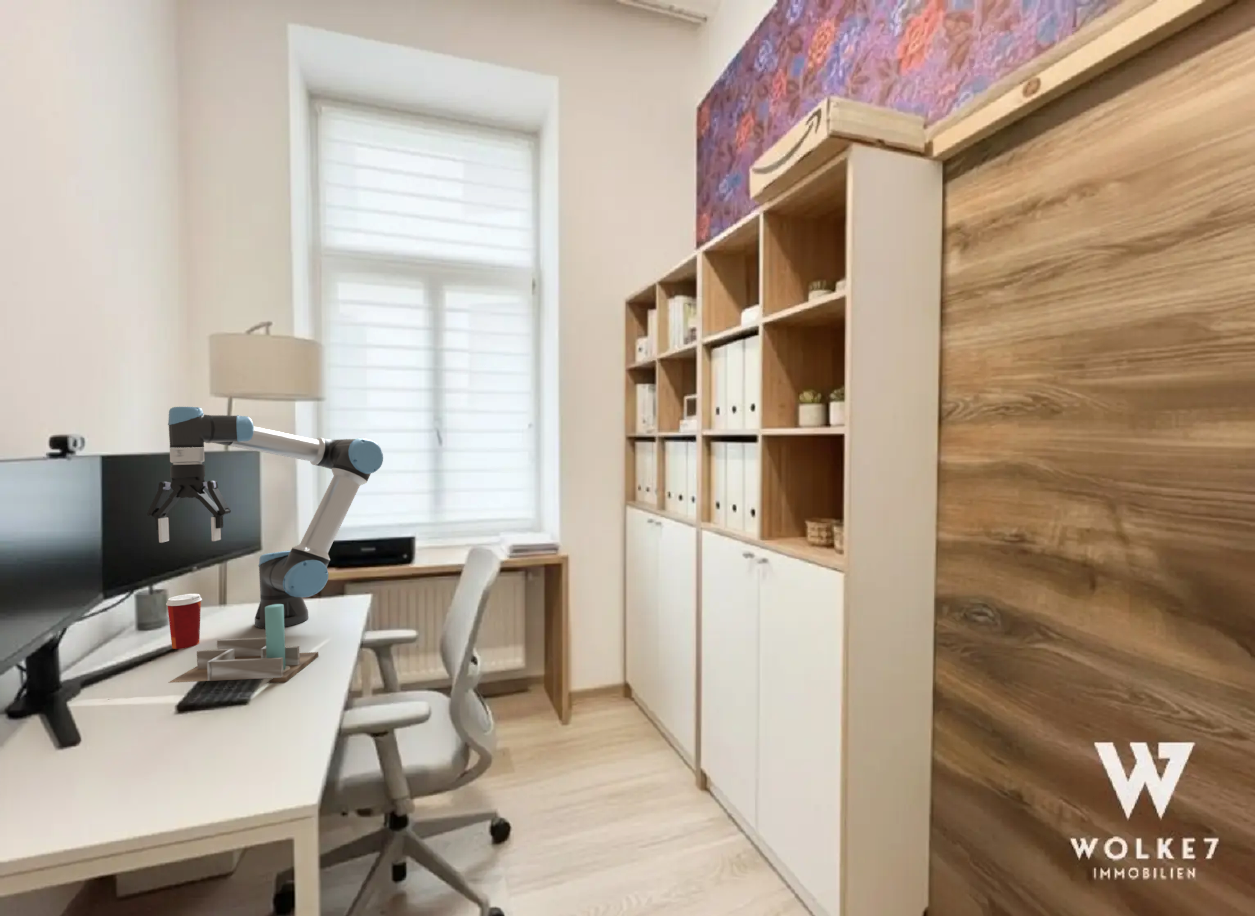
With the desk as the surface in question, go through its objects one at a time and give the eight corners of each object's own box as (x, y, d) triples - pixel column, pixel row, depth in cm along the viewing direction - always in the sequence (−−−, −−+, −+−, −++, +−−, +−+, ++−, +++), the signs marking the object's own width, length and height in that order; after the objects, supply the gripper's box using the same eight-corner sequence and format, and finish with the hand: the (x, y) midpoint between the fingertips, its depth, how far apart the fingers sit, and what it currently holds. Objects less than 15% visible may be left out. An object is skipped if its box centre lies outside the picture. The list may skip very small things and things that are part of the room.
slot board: (214, 660, 155) (213, 639, 155) (318, 656, 157) (317, 635, 156) (168, 687, 138) (167, 663, 138) (285, 682, 140) (285, 658, 140)
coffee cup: (211, 644, 168) (209, 593, 168) (186, 654, 160) (184, 600, 159) (184, 643, 169) (182, 593, 169) (159, 654, 161) (157, 600, 160)
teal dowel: (272, 667, 146) (270, 604, 145) (288, 666, 146) (286, 603, 146) (263, 673, 142) (261, 608, 141) (280, 672, 142) (278, 608, 142)
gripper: (128, 465, 153) (131, 544, 153) (226, 463, 155) (229, 542, 155) (149, 464, 160) (152, 540, 161) (243, 462, 162) (245, 537, 163)
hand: (190, 541), depth 158 cm, fingers open, 13 cm apart
